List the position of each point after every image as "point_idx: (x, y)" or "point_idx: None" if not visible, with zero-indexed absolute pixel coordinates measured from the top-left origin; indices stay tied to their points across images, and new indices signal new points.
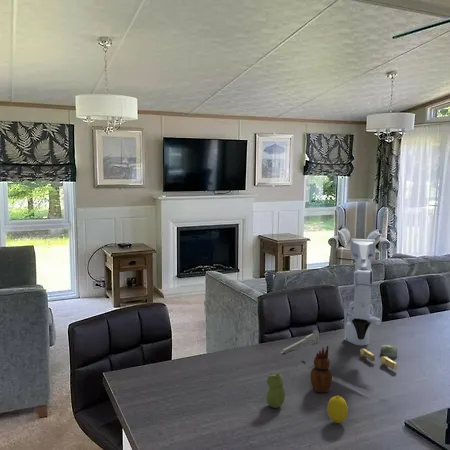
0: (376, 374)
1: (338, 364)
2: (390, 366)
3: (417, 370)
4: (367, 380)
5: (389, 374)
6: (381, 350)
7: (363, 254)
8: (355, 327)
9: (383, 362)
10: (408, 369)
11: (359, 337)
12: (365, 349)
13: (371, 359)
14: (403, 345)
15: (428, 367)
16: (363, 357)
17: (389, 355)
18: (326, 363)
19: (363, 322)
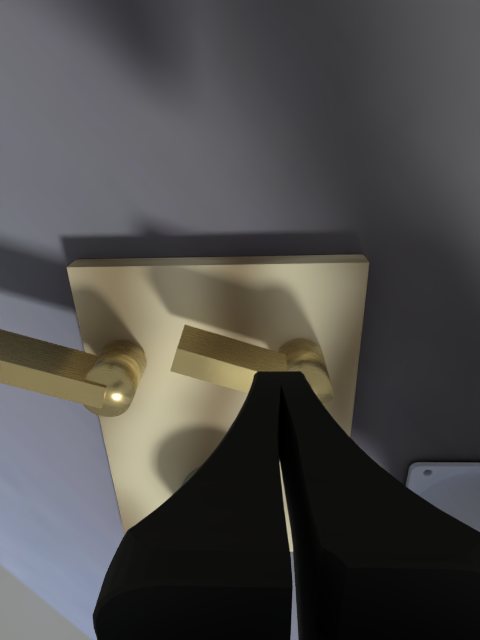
0: (92, 239)
1: (383, 137)
2: (30, 342)
3: (34, 468)
4: (37, 86)
5: (55, 310)
6: None
7: None
8: (358, 462)
9: (103, 357)
10: (64, 445)
11: (272, 381)
12: None
13: (185, 330)
14: (292, 633)
15: (42, 528)
16: (286, 347)
17: None
18: None
19: (124, 627)
